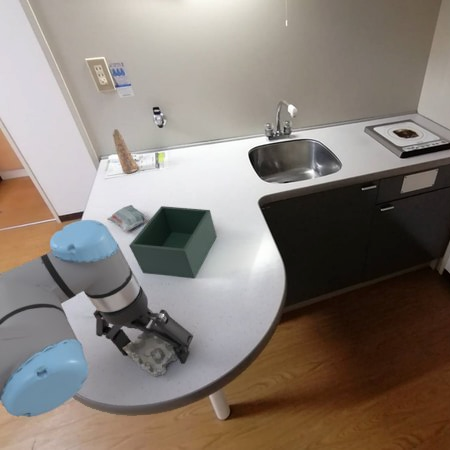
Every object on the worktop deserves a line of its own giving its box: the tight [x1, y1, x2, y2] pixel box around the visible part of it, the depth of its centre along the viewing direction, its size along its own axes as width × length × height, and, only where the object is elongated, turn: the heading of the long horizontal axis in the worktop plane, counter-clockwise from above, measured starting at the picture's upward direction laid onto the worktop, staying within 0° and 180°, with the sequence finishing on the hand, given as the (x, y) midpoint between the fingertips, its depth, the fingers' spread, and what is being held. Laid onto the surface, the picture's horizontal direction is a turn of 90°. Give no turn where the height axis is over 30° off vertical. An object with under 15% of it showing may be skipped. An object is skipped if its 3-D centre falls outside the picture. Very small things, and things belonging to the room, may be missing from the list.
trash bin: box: [128, 205, 217, 279], centre depth 89 cm, size 16×18×11 cm
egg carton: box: [122, 332, 179, 378], centre depth 67 cm, size 11×8×4 cm
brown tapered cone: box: [112, 129, 139, 175], centre depth 127 cm, size 6×18×6 cm
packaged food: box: [106, 204, 149, 233], centre depth 103 cm, size 9×12×5 cm
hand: (156, 353), depth 69 cm, fingers open, 13 cm apart
